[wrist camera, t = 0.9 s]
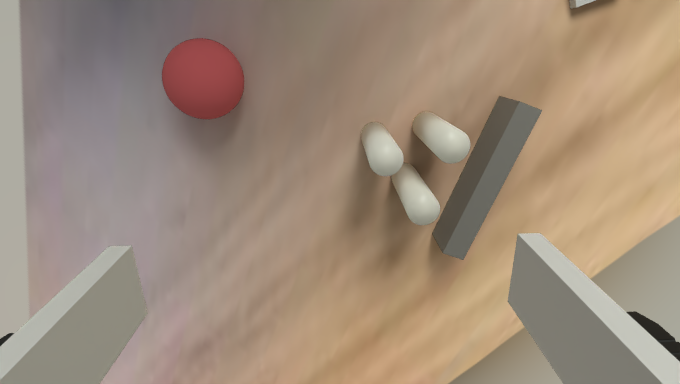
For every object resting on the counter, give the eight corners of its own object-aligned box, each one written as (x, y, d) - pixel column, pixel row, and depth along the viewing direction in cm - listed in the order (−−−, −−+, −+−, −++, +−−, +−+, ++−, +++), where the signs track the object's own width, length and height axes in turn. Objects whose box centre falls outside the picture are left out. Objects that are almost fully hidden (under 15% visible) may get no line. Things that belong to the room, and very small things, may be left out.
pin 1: (387, 167, 37) (403, 200, 29) (412, 159, 36) (435, 190, 28) (395, 191, 37) (411, 229, 29) (419, 183, 37) (443, 219, 29)
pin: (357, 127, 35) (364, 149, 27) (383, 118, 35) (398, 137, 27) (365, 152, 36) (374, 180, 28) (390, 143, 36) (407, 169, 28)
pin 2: (409, 116, 35) (431, 135, 27) (435, 107, 35) (466, 124, 27) (416, 142, 36) (440, 167, 28) (441, 133, 36) (473, 157, 28)
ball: (166, 53, 33) (132, 54, 27) (233, 28, 33) (212, 24, 27) (198, 122, 35) (172, 136, 29) (261, 99, 34) (247, 109, 29)
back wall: (450, 239, 39) (463, 259, 35) (432, 233, 39) (442, 253, 35) (519, 104, 35) (542, 110, 31) (499, 96, 35) (519, 101, 31)
